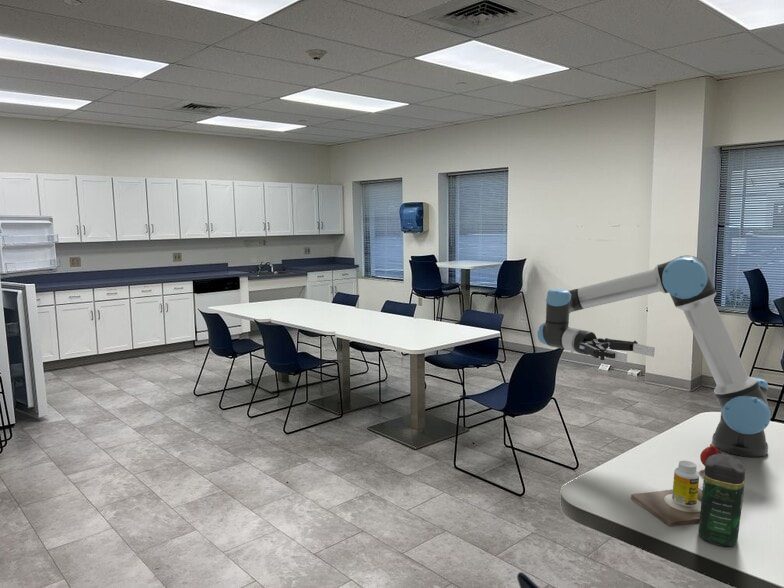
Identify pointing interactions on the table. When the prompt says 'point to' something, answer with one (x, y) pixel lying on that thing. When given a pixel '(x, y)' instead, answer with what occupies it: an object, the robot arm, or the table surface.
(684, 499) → the supplement bottle
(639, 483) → the table surface
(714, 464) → the coffee jar
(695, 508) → the brown flat board
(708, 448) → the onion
